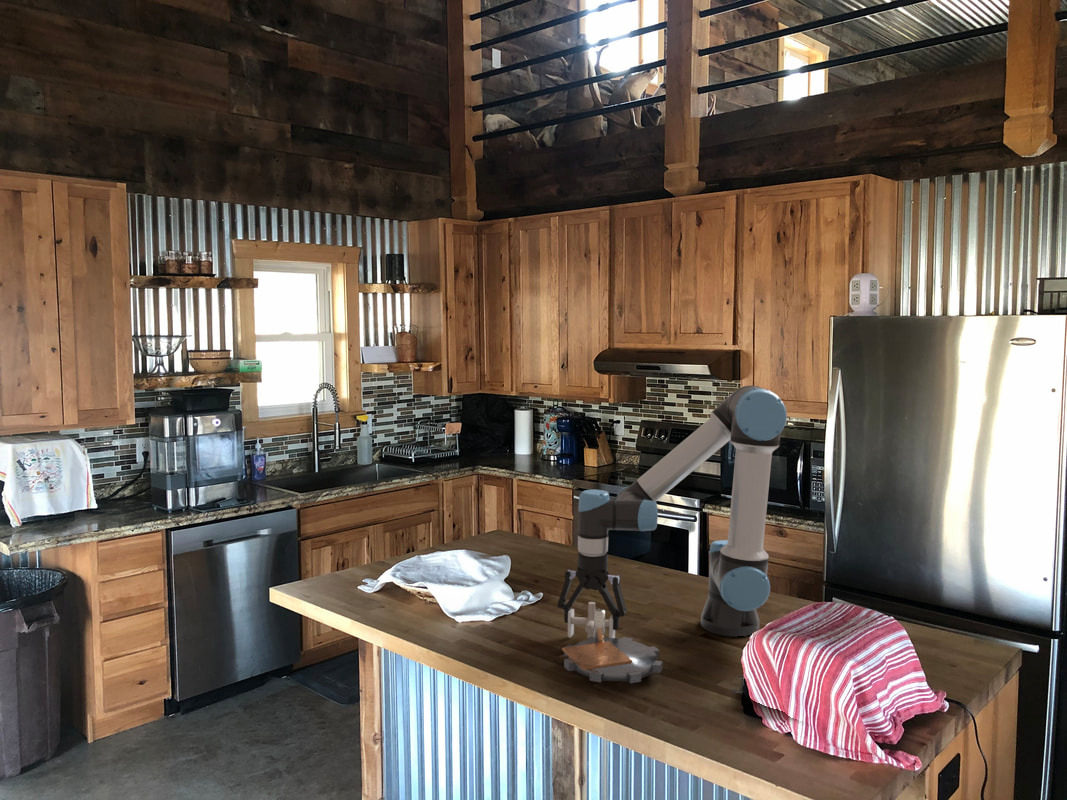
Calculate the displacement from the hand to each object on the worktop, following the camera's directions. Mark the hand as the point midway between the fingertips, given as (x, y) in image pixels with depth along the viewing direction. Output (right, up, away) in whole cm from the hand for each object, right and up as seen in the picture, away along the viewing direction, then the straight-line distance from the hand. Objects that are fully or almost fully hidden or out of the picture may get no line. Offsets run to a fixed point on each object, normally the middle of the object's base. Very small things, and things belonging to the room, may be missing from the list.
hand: (591, 638), depth 215 cm
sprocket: (+4, 0, -19) cm, 19 cm away
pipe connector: (0, -1, 0) cm, 1 cm away
